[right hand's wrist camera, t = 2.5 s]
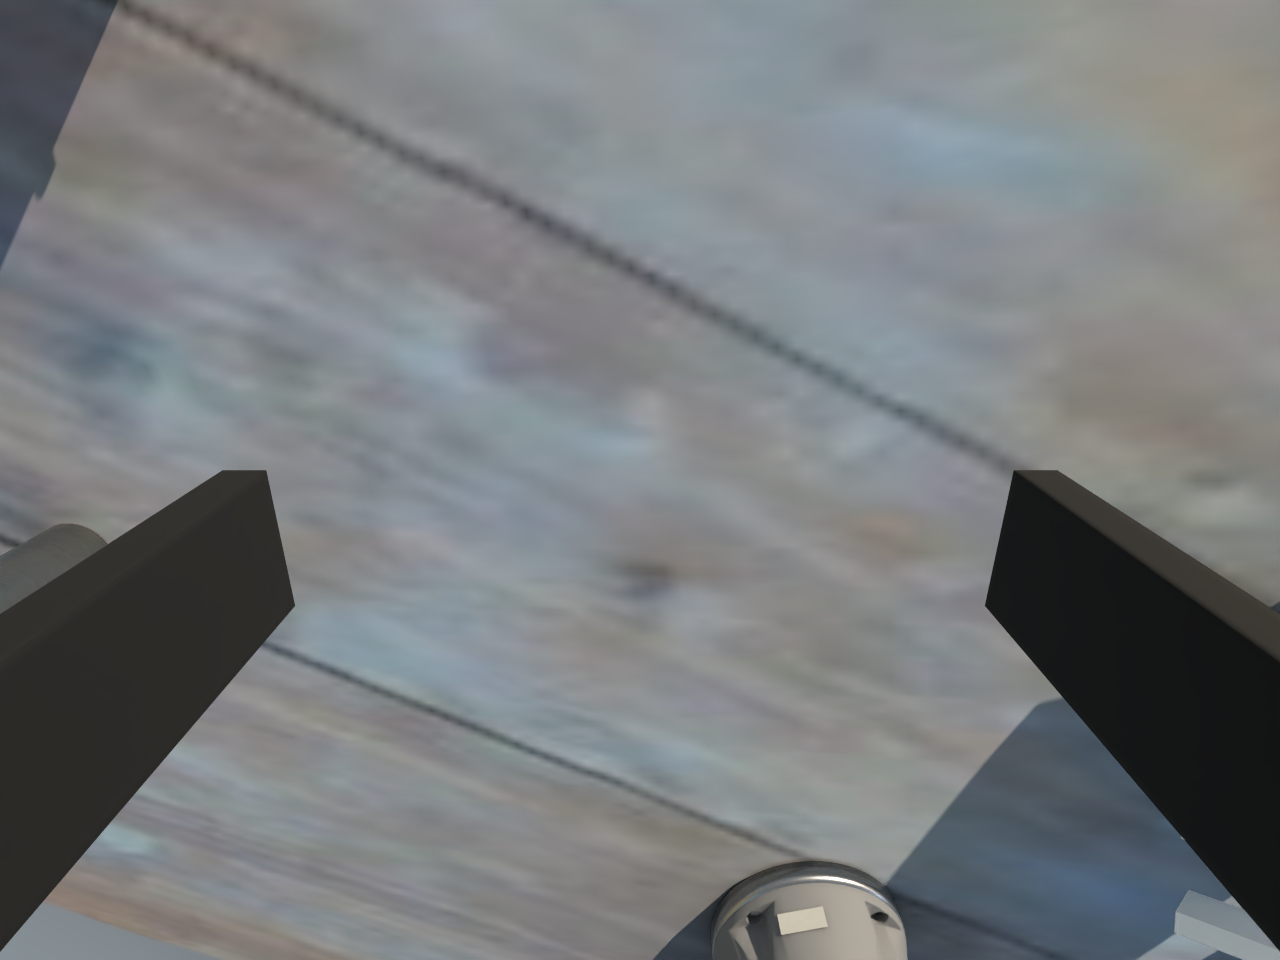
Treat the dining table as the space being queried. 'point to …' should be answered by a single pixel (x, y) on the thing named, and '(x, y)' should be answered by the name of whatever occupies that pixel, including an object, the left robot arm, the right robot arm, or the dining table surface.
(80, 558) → the bottle
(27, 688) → the right robot arm
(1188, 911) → the white plastic object
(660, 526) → the dining table surface
